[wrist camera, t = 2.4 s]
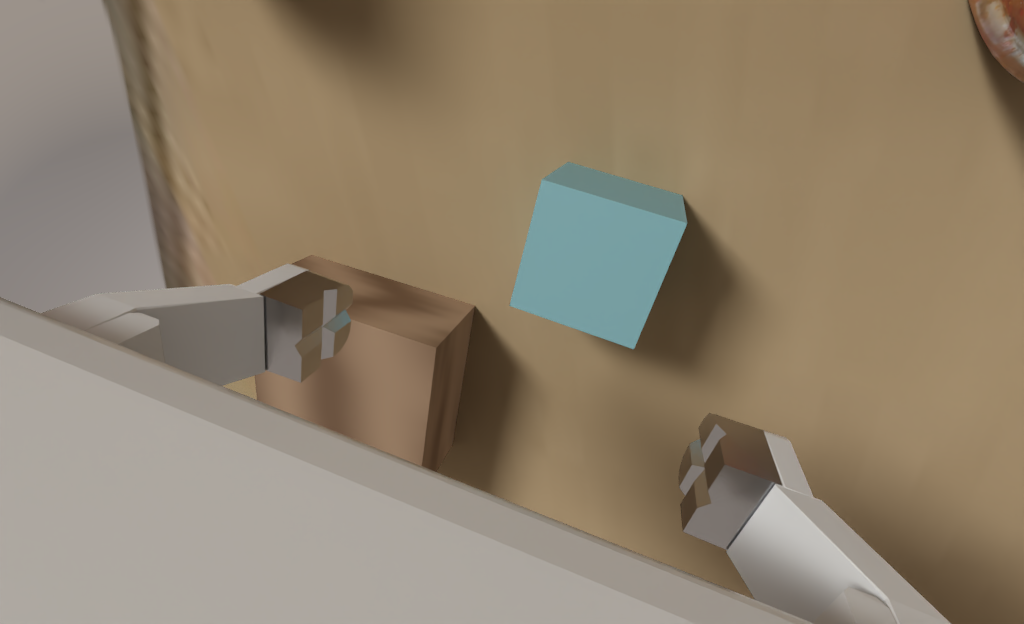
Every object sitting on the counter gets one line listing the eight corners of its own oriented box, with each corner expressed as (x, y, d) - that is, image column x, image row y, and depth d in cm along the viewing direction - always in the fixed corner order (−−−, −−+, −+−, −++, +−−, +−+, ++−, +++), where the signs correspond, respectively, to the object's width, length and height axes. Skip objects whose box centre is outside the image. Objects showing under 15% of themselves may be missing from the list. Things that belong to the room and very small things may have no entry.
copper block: (476, 303, 25) (436, 347, 20) (454, 442, 29) (417, 502, 25) (315, 253, 26) (245, 284, 22) (317, 391, 31) (261, 439, 27)
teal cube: (682, 195, 19) (687, 223, 15) (639, 298, 22) (633, 349, 17) (568, 161, 20) (541, 179, 16) (539, 265, 22) (509, 305, 18)
